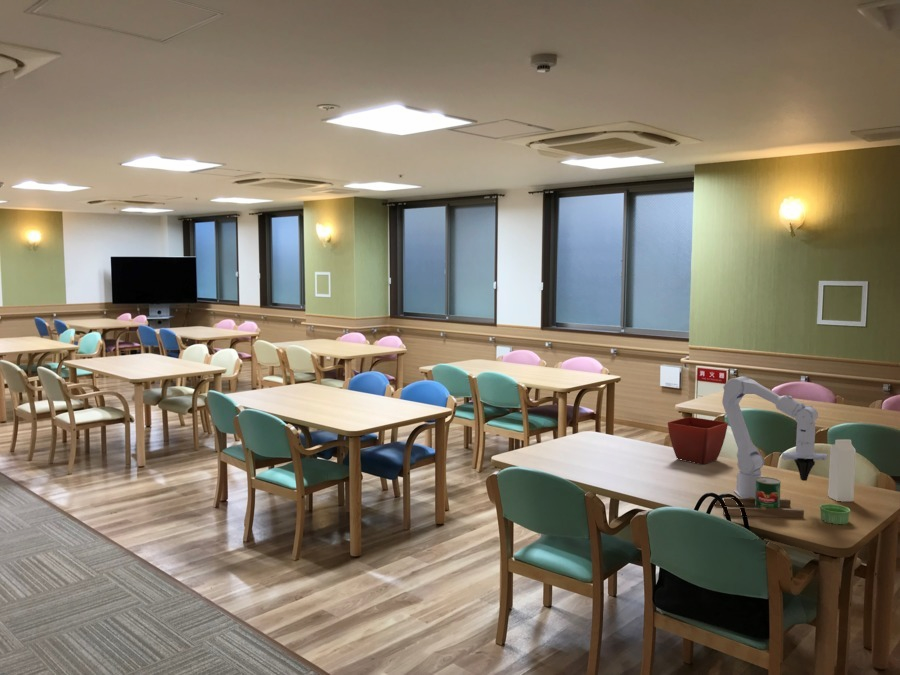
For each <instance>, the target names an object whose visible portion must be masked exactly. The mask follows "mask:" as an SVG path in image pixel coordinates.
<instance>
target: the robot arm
mask: <svg viewBox="0 0 900 675" xmlns="http://www.w3.org/2000/svg"><path fill="white" fill-rule="evenodd" d="M722 388H723V395H722V400H721V401H722V407H723V409H724V412H725V415H726V417H727V421H728V425H729V426H730V430H731V432H732V435H733V437H734V440H735V444H736V447H737V452H736V458H737V468H738V470H739V471H738V473H737V475H736V489H733V492H734V493H735V494H737V495H738V497H739V498H749V497H753V498H755V488H756V478H758V477H762V471H761V468H763V467H764V464H765V459H764V457H763V456H762V454H760V452H759V449H758V448H757V447H756V446H755V445H754V444H753V441H752V438H751V435H750V432H749V430H748V427H747V425H746V421H745V418H744V415H743V412H742V410H741V407H740V405H739V404H740V402H741V400H742V398H743V397H744V396H745V395H756V396H758V397H760V398H761V399H764V400H765V401H768V402H770V403H772V404H774V405H775V407H776V410H778V411H779V412H782V413H784V414H785V415H787V416H789V417H791V418H792V419H794V420H795V422H796V424H797V425H796V439H795V442H796V443H795V451H793V452H782V453H781V454H782V455H781V459H783V460H785V461H788V460H793V461H794V463H795V465H796V466H797V469H798V472H799V477H800V478H799V479H800V480H801V481H806V482H807V480H808V478H809V475H810V472H811V470H812V468H813V467H814V466H815V464H816V461H819V460H820V461H828V454H826V453H820V452H818V453H817V452H815V441H816V440H815V439H816V421H817V419H818V418H819V413H818V411H817V409H815V408H814V407H813V405H806V403H804V402H802V403H801V402H799V401H797V400H795V399H793V396H792V395H785V394H783V395H779V394H778V393H776V392H774V391H772V390H770V389H769V388H767V387H765V386H764V385H762V384H761V383H759V382H757V381H756V380H754V379H753V378H752V379H751V378H749V377H748V376H746V375H741V376H739V377H733V378H730V379H728V380H727V381H726V383H725V384H724V385H723V387H722Z"/></svg>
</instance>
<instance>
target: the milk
mask: <svg viewBox="0 0 900 675" xmlns="http://www.w3.org/2000/svg"><path fill="white" fill-rule="evenodd" d="M834 441H835V442H834V443H833V444H831V445H830V449H829V450H830V451H829V471H828V489H827V490H828V493H827V497H828V496H829V497H828V498H830V499H832V500H833V501H835V500H836V501H835V502H837V501H841V502H854V497H855V496H854V491H855V478H856V477H855V476H856V475H855V471H856V456H857V455H856V454H857V450H856V448H855V447H854V446H853V443H852V439H845V438H844V439H835V440H834Z"/></svg>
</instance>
